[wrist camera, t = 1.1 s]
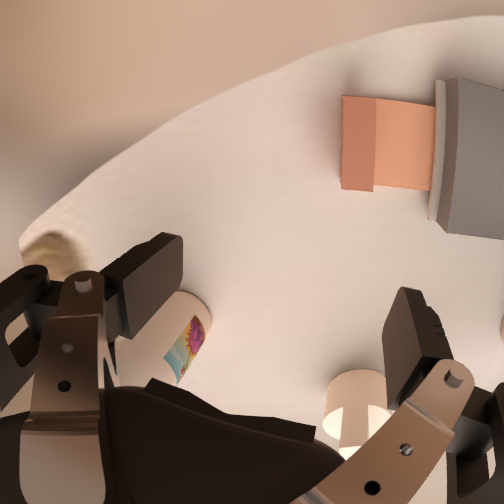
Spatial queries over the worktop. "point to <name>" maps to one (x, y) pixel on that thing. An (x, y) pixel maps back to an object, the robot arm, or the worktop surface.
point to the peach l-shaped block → (386, 144)
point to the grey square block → (468, 159)
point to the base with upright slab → (355, 408)
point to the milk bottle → (165, 342)
